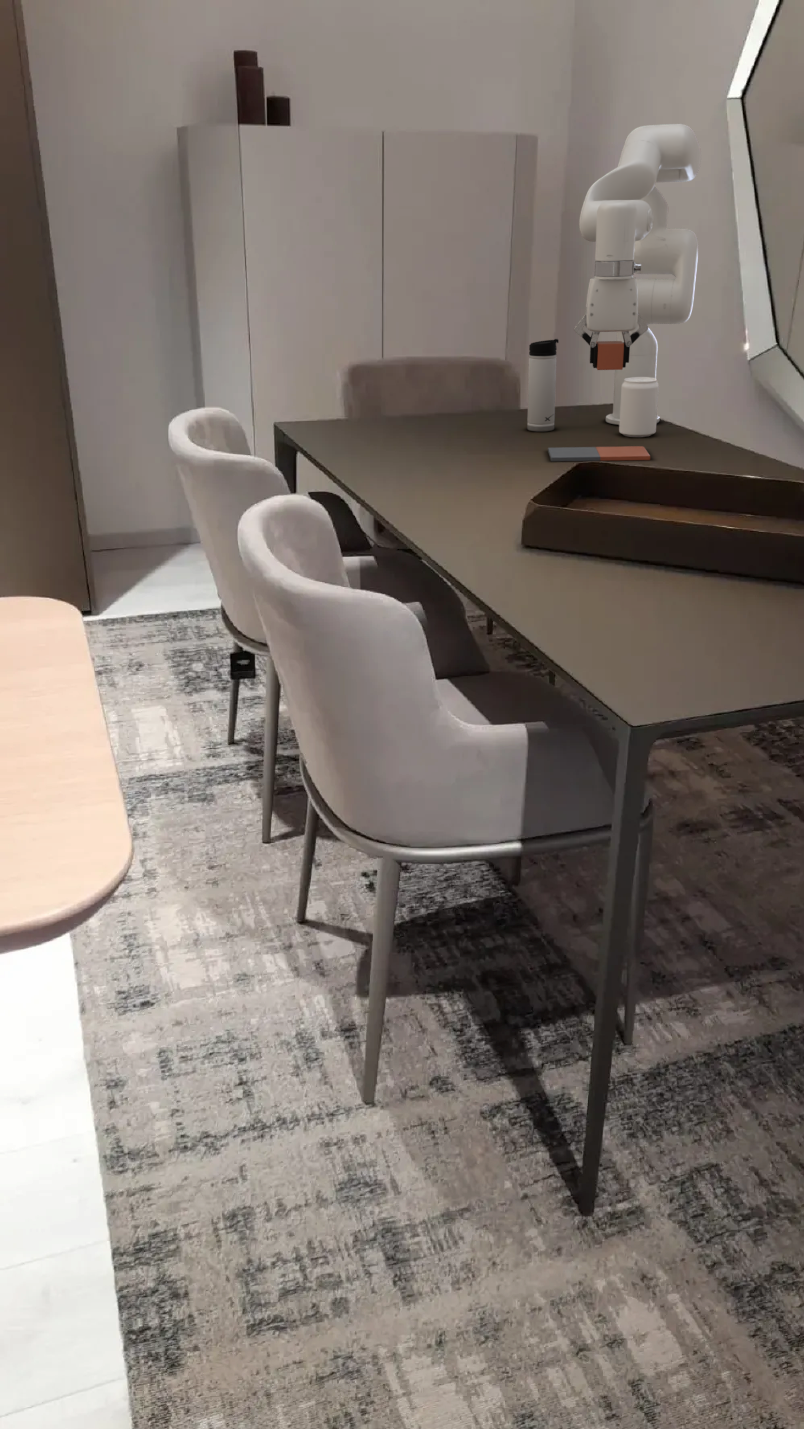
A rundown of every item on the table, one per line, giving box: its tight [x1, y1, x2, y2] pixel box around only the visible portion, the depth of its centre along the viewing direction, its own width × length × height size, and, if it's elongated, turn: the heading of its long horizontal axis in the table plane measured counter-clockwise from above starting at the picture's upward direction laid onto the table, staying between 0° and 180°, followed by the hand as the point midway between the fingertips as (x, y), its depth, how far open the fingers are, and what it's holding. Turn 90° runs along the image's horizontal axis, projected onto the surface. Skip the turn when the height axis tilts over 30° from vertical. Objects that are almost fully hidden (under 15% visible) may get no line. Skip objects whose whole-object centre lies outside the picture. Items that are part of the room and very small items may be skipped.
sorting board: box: [547, 445, 651, 462], centre depth 228 cm, size 10×20×1 cm, turn 87°
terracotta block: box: [595, 340, 624, 371], centre depth 223 cm, size 5×5×5 cm
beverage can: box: [618, 377, 660, 438], centre depth 245 cm, size 8×8×12 cm
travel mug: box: [526, 338, 559, 433], centre depth 252 cm, size 6×7×20 cm
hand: (609, 366), depth 224 cm, fingers closed on terracotta block, 5 cm apart
